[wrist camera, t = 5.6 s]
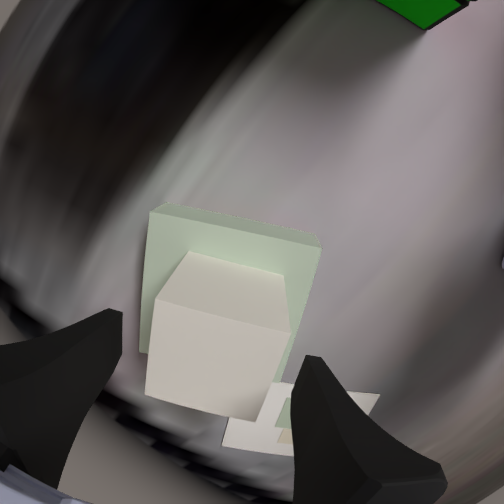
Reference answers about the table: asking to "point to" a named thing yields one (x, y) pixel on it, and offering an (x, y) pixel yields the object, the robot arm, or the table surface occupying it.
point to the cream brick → (217, 337)
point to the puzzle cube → (426, 10)
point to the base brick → (227, 257)
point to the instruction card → (276, 422)
